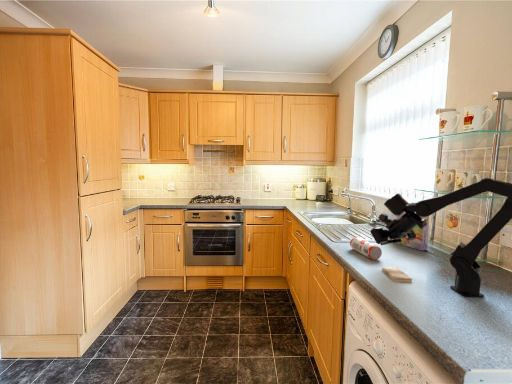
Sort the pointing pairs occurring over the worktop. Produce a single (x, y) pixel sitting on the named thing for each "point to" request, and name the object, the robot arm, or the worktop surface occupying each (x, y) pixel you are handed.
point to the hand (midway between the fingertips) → (381, 244)
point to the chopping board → (396, 274)
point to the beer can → (366, 248)
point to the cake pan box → (417, 236)
